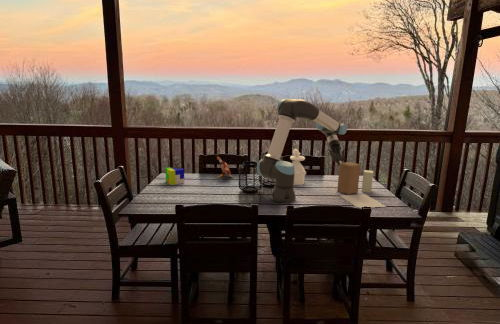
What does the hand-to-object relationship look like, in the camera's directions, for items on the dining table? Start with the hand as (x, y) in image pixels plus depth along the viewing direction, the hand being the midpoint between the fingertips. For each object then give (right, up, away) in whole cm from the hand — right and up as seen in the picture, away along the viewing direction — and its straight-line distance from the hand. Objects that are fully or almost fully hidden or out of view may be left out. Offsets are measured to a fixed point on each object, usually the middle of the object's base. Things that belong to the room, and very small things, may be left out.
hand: (342, 169), depth 231 cm
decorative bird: (-84, -7, +22) cm, 87 cm away
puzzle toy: (-118, -9, +6) cm, 119 cm away
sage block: (+16, -15, -3) cm, 22 cm away
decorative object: (-31, -10, +13) cm, 35 cm away
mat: (+6, -19, -25) cm, 32 cm away
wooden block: (+2, -15, -6) cm, 17 cm away
